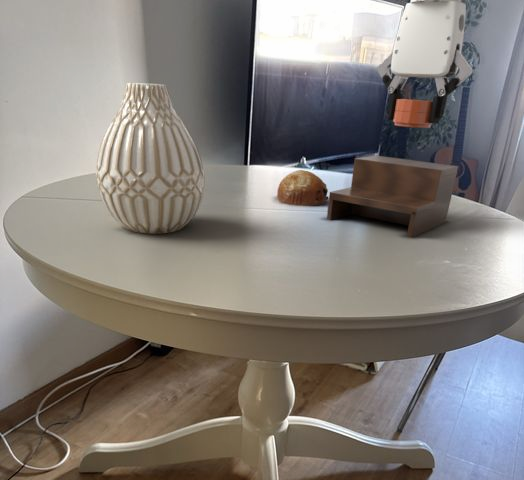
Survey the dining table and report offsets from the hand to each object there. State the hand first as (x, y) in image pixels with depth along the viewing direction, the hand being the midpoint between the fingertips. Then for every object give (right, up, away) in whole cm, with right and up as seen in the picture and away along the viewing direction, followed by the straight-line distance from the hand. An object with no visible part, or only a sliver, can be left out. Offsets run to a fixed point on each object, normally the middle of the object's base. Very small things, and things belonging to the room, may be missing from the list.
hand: (413, 120), depth 82 cm
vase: (-43, -20, -6) cm, 48 cm away
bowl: (0, -1, 0) cm, 1 cm away
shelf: (-3, -16, +5) cm, 17 cm away
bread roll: (-18, -9, +17) cm, 26 cm away
